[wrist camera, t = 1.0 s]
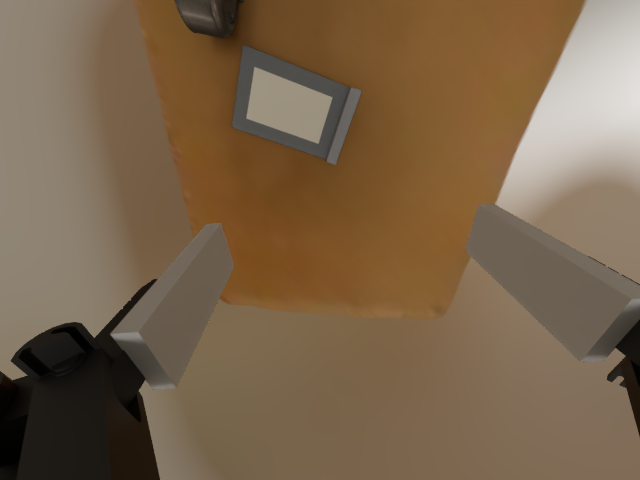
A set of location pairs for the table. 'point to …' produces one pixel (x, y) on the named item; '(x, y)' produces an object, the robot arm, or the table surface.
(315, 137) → the mat
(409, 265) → the table surface
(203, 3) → the alarm clock
